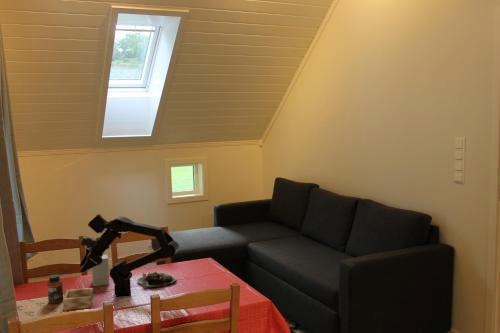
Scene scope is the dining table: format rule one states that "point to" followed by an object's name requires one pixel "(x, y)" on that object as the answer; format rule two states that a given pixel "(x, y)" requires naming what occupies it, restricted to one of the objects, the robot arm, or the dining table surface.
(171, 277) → the salad plate
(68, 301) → the crate
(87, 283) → the dining table surface
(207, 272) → the dining table surface
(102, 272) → the supplement box
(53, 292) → the supplement bottle
